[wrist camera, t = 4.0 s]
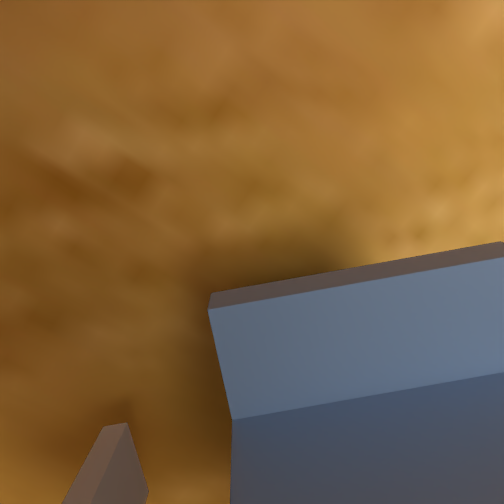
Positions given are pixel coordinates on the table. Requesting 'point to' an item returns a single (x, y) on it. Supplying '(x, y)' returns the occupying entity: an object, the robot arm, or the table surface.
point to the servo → (368, 382)
